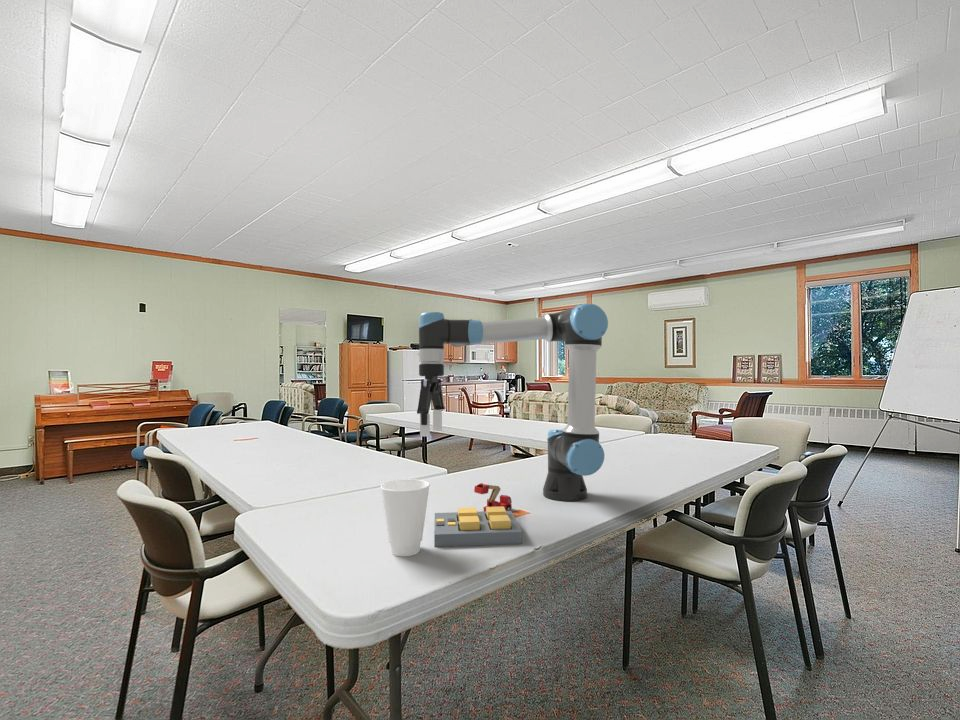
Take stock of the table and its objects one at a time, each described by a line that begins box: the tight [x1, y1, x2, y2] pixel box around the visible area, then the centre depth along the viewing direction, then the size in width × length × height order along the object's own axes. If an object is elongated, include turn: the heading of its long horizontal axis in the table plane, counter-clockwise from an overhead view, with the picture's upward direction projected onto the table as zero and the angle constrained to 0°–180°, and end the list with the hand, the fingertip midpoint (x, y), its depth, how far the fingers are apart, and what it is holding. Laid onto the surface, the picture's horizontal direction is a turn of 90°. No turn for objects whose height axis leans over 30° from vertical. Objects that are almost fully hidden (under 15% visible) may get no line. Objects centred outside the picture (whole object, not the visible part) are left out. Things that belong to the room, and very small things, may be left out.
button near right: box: [459, 516, 480, 531], centre depth 125 cm, size 5×5×3 cm
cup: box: [380, 478, 431, 557], centre depth 116 cm, size 12×12×16 cm
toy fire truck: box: [473, 482, 513, 512], centre depth 146 cm, size 3×14×10 cm, turn 135°
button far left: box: [486, 506, 507, 520], centre depth 133 cm, size 5×5×3 cm
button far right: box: [457, 506, 478, 519], centre depth 133 cm, size 5×5×3 cm
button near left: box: [489, 515, 511, 530], centre depth 125 cm, size 5×5×3 cm
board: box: [433, 510, 523, 548], centre depth 129 cm, size 22×18×3 cm
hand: (431, 433), depth 145 cm, fingers open, 13 cm apart
